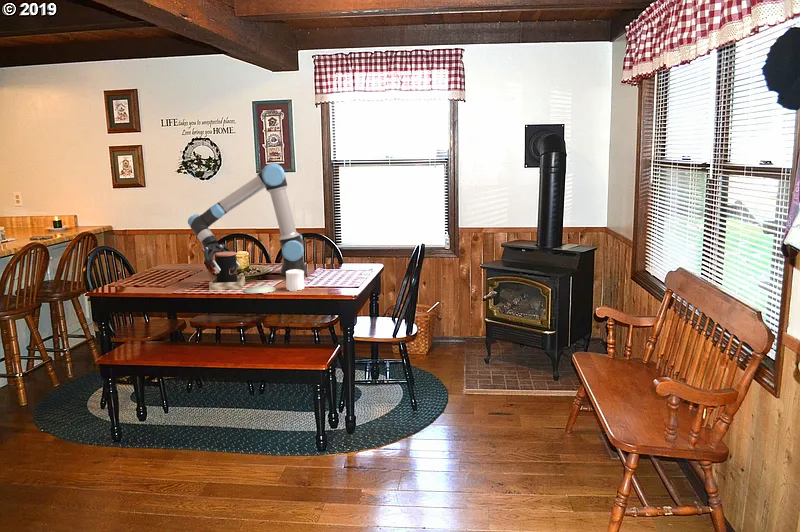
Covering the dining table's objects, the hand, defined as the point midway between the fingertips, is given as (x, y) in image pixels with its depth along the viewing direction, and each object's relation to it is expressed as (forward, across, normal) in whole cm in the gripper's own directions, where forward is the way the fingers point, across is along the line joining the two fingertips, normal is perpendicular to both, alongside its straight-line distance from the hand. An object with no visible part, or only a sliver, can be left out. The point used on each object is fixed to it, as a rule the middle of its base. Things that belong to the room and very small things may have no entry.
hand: (229, 269), depth 346 cm
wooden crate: (+5, 0, -8) cm, 10 cm away
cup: (+32, -12, +18) cm, 38 cm away
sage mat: (+21, -1, +8) cm, 23 cm away
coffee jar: (+5, 0, -8) cm, 10 cm away
